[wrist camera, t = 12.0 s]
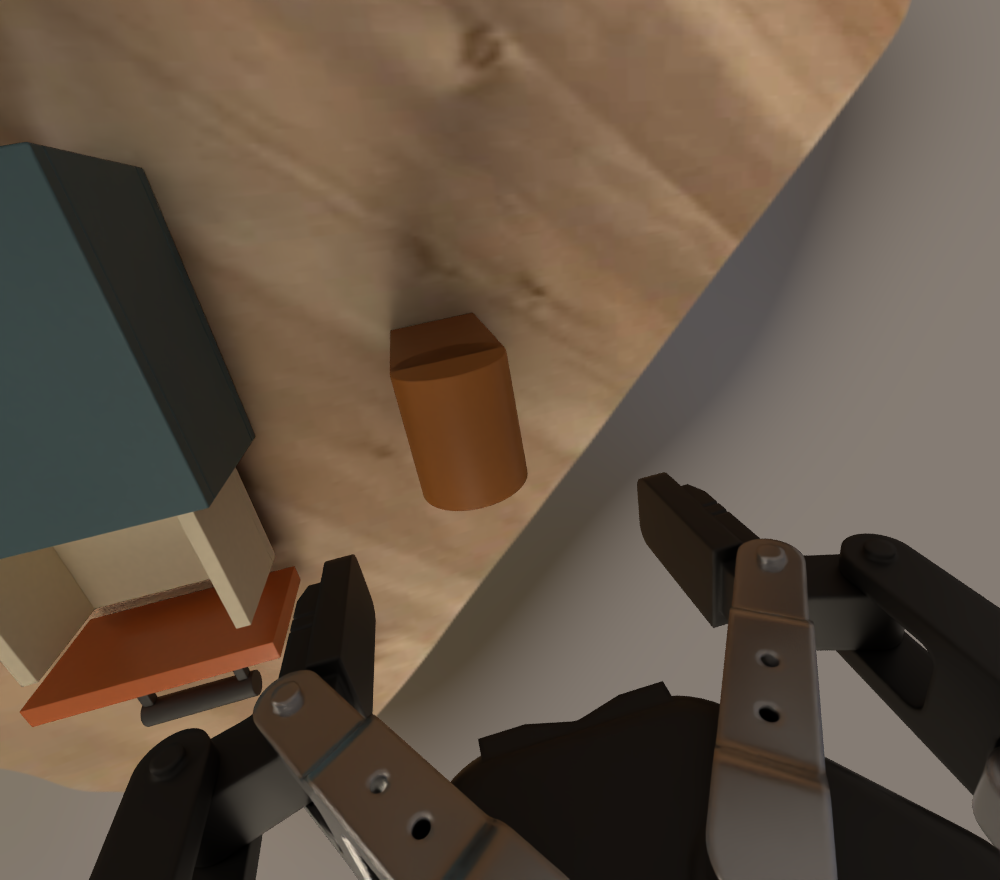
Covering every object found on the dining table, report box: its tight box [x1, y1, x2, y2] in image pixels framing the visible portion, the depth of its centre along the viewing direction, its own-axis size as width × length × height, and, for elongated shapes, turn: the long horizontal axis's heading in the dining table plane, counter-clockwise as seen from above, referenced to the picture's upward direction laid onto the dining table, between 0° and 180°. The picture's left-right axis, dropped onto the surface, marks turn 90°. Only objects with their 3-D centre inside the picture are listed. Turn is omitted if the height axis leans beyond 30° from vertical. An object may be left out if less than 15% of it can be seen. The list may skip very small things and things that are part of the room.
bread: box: [390, 313, 528, 511], centre depth 26 cm, size 6×5×12 cm
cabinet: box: [0, 142, 255, 559], centre depth 23 cm, size 15×14×9 cm
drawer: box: [0, 467, 300, 727], centre depth 28 cm, size 18×13×7 cm
